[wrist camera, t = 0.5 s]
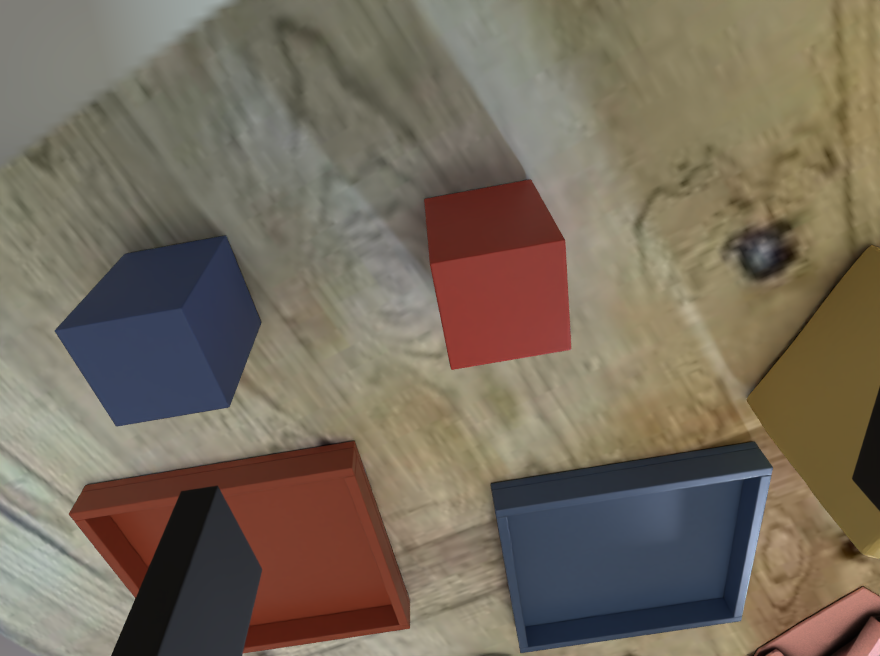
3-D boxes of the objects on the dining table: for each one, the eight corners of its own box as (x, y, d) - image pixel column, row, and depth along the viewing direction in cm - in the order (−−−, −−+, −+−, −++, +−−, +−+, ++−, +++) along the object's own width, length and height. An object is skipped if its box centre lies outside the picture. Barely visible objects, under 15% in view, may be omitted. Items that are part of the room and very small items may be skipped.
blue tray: (490, 483, 34) (495, 511, 32) (754, 441, 33) (773, 467, 31) (515, 625, 42) (520, 653, 40) (727, 594, 41) (741, 621, 40)
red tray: (85, 484, 32) (67, 514, 30) (354, 440, 31) (351, 468, 30) (194, 632, 40) (185, 662, 39) (409, 600, 40) (410, 628, 38)
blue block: (124, 253, 25) (53, 330, 20) (226, 234, 25) (180, 308, 20) (168, 339, 27) (115, 427, 22) (261, 322, 27) (229, 407, 22)
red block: (424, 198, 24) (429, 263, 19) (531, 178, 24) (565, 239, 19) (441, 291, 27) (451, 370, 22) (539, 274, 26) (571, 350, 21)
